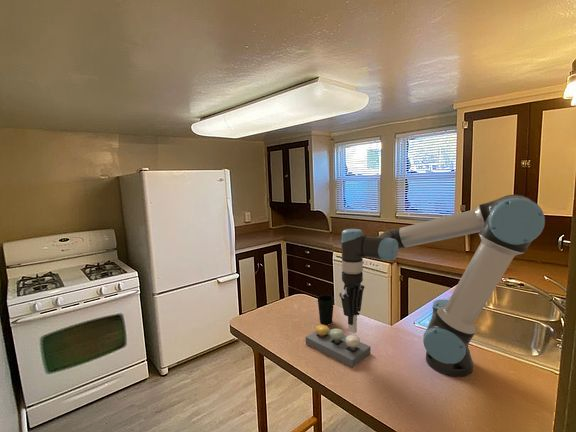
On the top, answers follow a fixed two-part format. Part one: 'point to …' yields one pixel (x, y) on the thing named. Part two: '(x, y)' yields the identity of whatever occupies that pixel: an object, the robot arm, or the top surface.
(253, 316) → the top surface
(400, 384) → the top surface
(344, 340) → the panel
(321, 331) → the button amber
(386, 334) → the top surface
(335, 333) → the button sage
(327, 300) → the cup
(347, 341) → the button cream
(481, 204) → the robot arm
